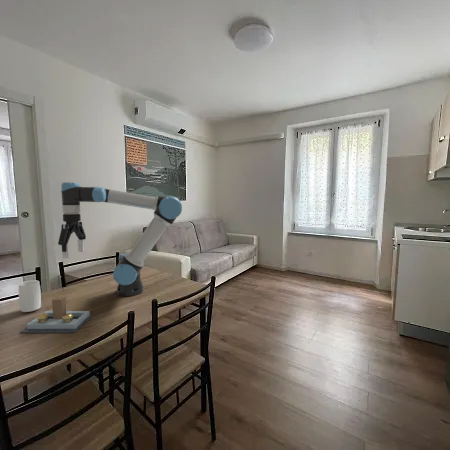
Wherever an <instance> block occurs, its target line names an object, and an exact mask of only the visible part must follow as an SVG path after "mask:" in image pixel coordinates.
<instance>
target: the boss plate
mask: <svg viewBox="0 0 450 450" xmlns="http://www.w3.org/2000/svg"><path fill="white" fill-rule="evenodd" d="M92 317H93V316H92V315H91V314H90V315H89V316H88V317H87V318H86V319H85V320H84V321H83V322H82V323H81V324H80V325H79V326H78V327H77V328H76V329H27V327H25V328H24V329H23V330H21V331H20V333H21V334H75V333H77V332H78V331H79V330H80V329H81V328H82V327H83V326H84V325H85V324H86V323H87V322H89V320H90V319H91V318H92ZM36 318H37V320H38V321H41V323H45V322H46V321H47V320H49V319H53V317H49V315H48V313H44V312H43V313H39V314H38V315H37V316H36ZM78 318H79V317H73V313H66V314H64V315H62V320H63V321H65V322H66V323H70V322H71V321H72V320H73V319H78Z"/></svg>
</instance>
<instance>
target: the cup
mask: <svg viewBox="0 0 450 450" xmlns="http://www.w3.org/2000/svg"><path fill="white" fill-rule="evenodd" d="M41 296H42V292H41V284H40V281H39V280H36V279H34V280H33V279H32V280H26V281H23V282H20V283H19V284H18V302H19V308H20V311H21V312H23V313H30V312H33V311H37V310H38V309H40V308H41V307H42V297H41Z"/></svg>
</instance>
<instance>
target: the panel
mask: <svg viewBox="0 0 450 450" xmlns="http://www.w3.org/2000/svg"><path fill="white" fill-rule="evenodd" d="M51 304H52V305H51V306H52V310H46V311H44V312H43V313H48V315H49V317H53V319H49V320H47V321H46V322H45V323H41V321H38V320H37V317H35V318H34V319H33V320H30V321H29V322H28V323H27V324H26V328H27V329H76V328H77V327H78V326H79V325H80V324H81V323H82V322H83V321H84V320H85V319H86V318H87V317H88V316H89V315H91V314H90V313H91V312H90V310H67V301H66V296H55V297H53V298H52V299H51ZM66 313H73V317H79V318H78V319H73V320H72V321H71V322H70V323H66V322H65V321H63V320H62V315H64V314H66Z"/></svg>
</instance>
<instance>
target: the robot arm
mask: <svg viewBox="0 0 450 450" xmlns="http://www.w3.org/2000/svg"><path fill="white" fill-rule="evenodd" d="M60 193H61V202H62V203H61V204H62V213H63V214H62V221H63V222H65V224H61V225H60V226H61V230H60V234H59V238H58V242H57V245H58V246H61V255H62V259H70V249H69V247H70V246H69V244H68V243H69V241H70V239H71V236H72V234H75V236H76V237H77V252H78V253H84V252H85V247H84V246H85V244H84V240H86V233H85V230H84V227H83V222H82V221H81V220H82V219H81V205H80V204H81V203H82V202H83V203H86V202H87V203H108V204H115V205H120V206H121V205H122V206H127V207H133V208H140V209H146V210H152V211H153V218H152V219H151V221H150V222H149V223H148V225H147V227H146V228H145V230H144V231H143V232H142V234H141V235H140V237H139V238H138V240H137V241H136V243H135V244H134V246H133V247H132V248H131V250H130V252H129V253H122V254H119V256H118V264H117V265H116V267H115V268H114V269H113V273H112V276H113V279H114V281H115V282H116V283H117V287H116V294H117V295H118V296H120V297H121V296H122V297H132V296H137V295H140V294H142V293H143V292H144V283H143V281H142V279H141V270H142V269H143V267H144V266H145V265H144V261H145V260H146V259H147V257H148V255H149V253H150V252H151V251H152V250H153V248H154V247H155V245H156V243H157V242H158V241H159V240H160V238H161V236H162V235H163V233H164V232H165V230H166V229H167V228H168V226H172V225H173V224H174V223H175V221H176V219H177V218H178V217H179V216H180V215H181V213H182V211H183V204H182V202H181V201H180V199H179V198H178V197H175V196H172V195H169V196H162V195H157V196H150V195H145V194H139V193H133V192H126V191H121V190H115V189H108V188H104V187H99V186H80V183H78V182H72V181H71V182H70V181H69V182H67V181H66V182H65V181H64V182H62V183H61V191H60Z"/></svg>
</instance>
